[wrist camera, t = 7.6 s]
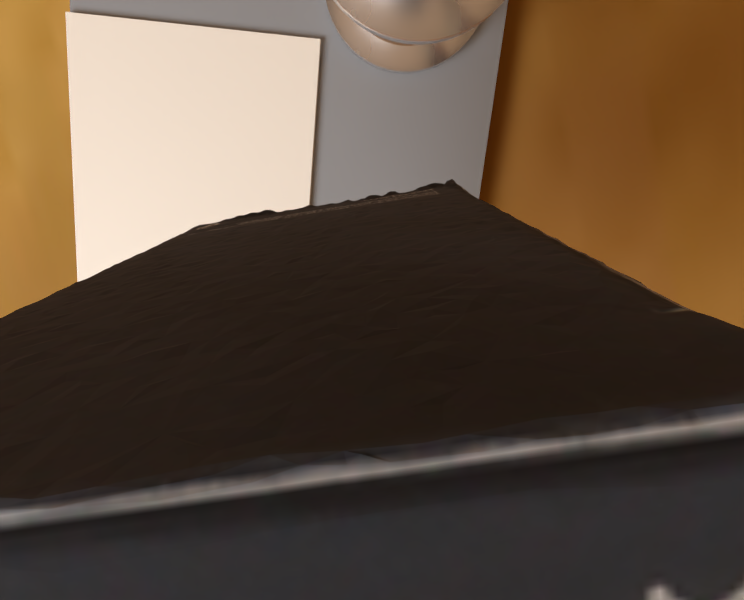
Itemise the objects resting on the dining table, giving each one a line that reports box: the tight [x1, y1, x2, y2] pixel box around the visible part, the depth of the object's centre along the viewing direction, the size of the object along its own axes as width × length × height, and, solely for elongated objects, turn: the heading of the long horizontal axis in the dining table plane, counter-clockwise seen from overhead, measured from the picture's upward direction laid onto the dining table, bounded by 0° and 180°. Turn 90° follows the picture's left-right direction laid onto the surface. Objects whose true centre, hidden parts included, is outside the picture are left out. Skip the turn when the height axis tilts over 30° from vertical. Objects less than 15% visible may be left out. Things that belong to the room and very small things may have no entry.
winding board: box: [66, 0, 508, 282], centre depth 26 cm, size 19×24×2 cm
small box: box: [0, 179, 744, 600], centre depth 8 cm, size 11×6×10 cm, turn 9°
